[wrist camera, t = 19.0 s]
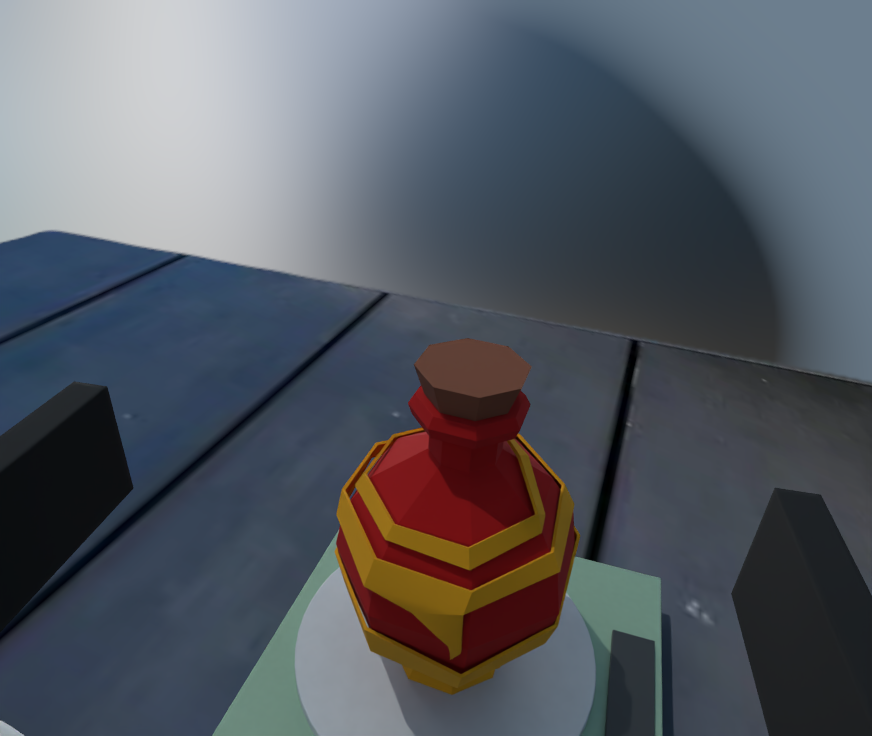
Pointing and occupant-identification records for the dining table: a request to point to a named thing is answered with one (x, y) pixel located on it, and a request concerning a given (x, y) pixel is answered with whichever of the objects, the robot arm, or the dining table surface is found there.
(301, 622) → the kitchen scale
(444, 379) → the potion bottle
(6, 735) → the dinner plate
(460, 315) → the dining table surface
